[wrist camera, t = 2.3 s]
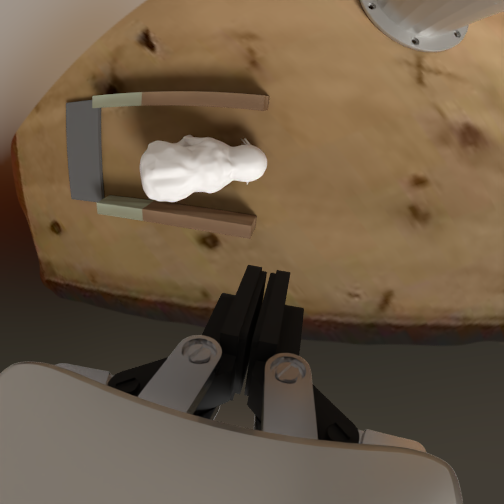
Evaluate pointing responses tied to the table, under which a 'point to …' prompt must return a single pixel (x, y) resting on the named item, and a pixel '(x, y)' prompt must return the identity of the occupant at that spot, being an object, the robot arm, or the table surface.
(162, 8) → the table surface
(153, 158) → the white figurine
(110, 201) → the parallel bars
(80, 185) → the mat
